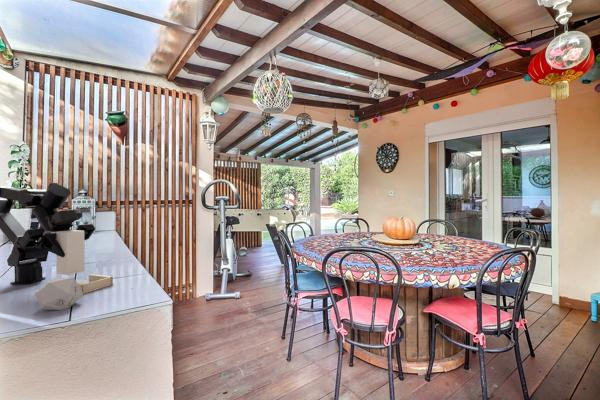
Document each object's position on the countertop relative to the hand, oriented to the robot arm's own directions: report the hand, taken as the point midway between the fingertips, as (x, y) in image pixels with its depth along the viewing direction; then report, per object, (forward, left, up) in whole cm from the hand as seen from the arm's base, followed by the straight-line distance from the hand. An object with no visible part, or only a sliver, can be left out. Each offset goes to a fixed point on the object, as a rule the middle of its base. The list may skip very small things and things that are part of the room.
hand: (73, 254), depth 90 cm
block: (-1, +1, -6) cm, 6 cm away
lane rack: (+3, -1, -10) cm, 11 cm away
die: (+10, -18, -11) cm, 23 cm away
